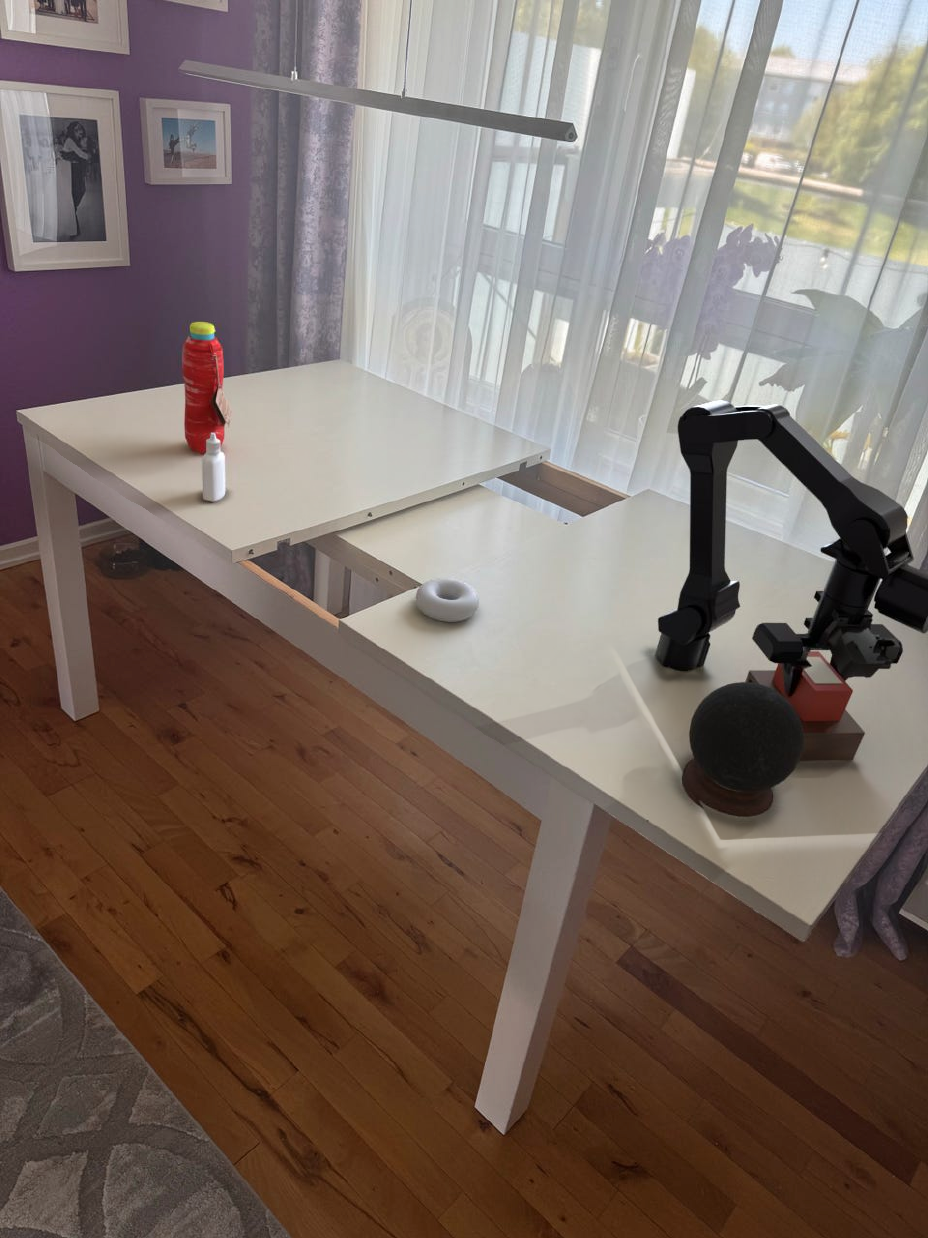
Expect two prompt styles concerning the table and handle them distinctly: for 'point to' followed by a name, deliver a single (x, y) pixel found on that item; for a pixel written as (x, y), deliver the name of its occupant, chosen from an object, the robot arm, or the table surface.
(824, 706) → the carton
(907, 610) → the robot arm
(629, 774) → the table surface
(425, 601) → the donut
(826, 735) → the block
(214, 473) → the eye dropper bottle
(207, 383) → the water bottle
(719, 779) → the sphere on wooden stand
